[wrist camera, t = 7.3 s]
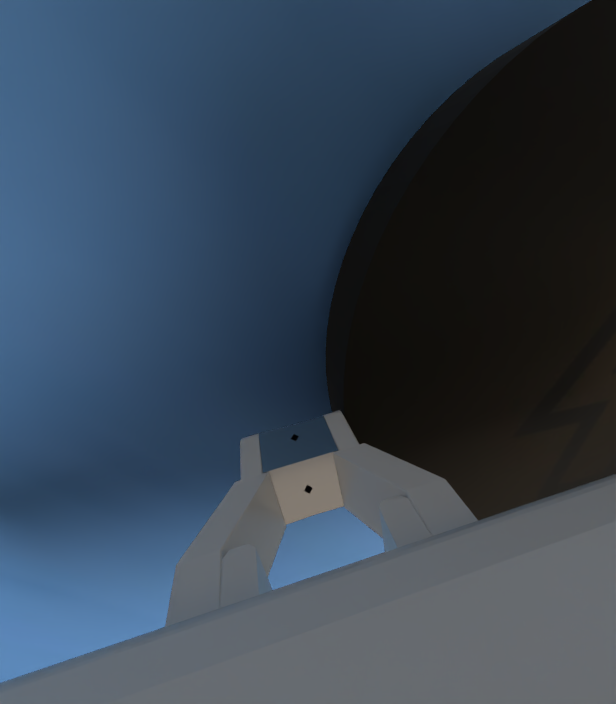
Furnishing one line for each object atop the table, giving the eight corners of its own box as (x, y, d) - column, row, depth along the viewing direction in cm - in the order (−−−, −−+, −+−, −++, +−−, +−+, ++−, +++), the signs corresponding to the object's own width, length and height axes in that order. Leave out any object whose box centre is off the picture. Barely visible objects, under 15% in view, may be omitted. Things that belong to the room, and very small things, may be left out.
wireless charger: (863, -78, 9) (1026, -154, 7) (715, 427, 16) (775, 453, 14) (235, 135, 8) (234, 110, 6) (386, 568, 15) (406, 615, 13)
